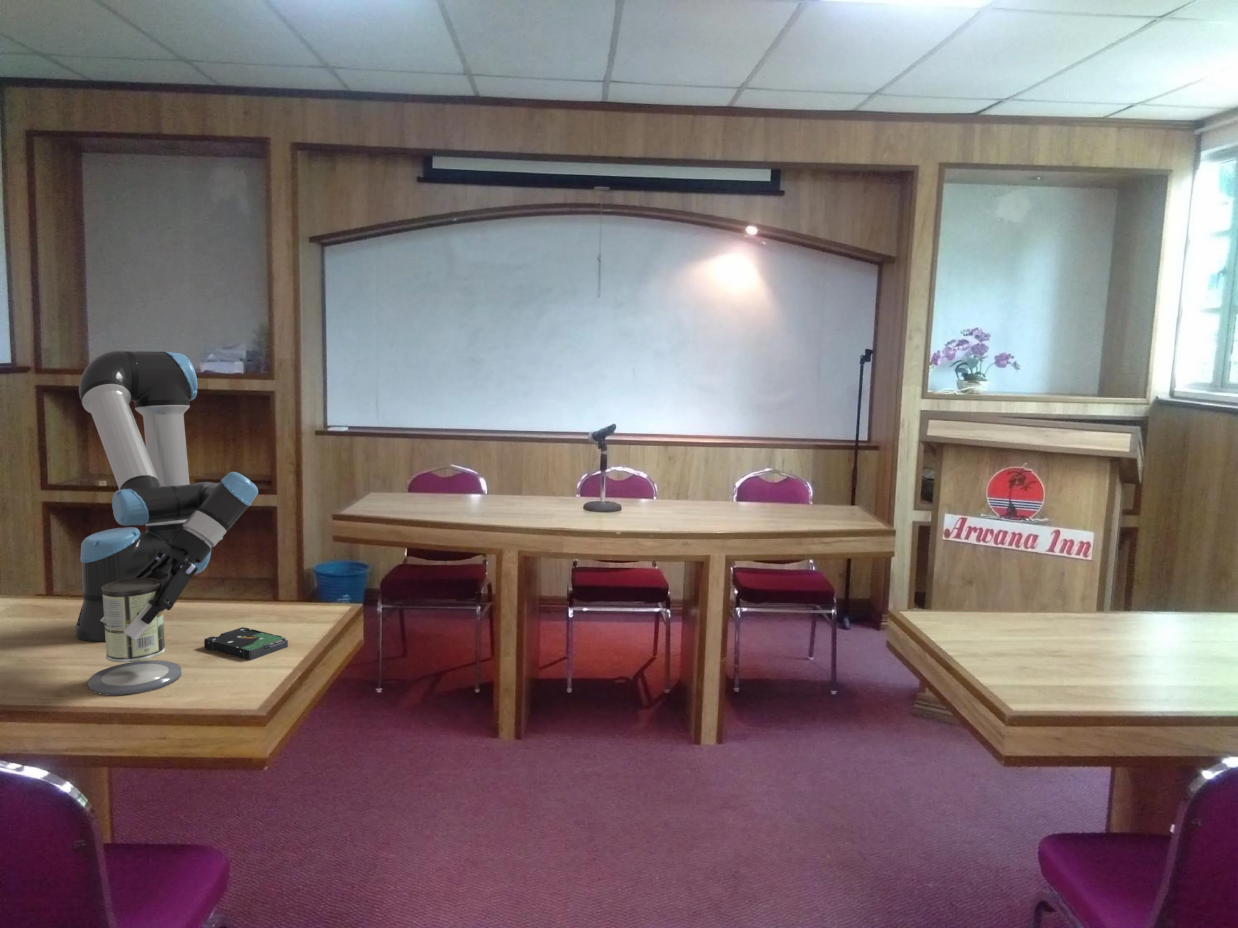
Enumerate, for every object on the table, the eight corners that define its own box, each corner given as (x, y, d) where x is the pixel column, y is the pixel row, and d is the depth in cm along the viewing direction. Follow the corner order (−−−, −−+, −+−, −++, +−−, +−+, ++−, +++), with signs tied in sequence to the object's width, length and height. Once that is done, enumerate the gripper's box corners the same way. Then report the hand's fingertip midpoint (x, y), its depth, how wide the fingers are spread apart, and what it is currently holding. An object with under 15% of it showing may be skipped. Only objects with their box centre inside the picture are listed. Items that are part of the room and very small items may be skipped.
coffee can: (134, 643, 173) (130, 575, 171) (177, 647, 171) (174, 579, 169) (92, 660, 163) (88, 588, 161) (137, 665, 161) (134, 592, 159)
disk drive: (203, 651, 186) (250, 662, 180) (202, 639, 186) (250, 649, 179) (242, 638, 196) (289, 648, 189) (242, 626, 195) (288, 636, 189)
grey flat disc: (67, 691, 161) (67, 685, 161) (128, 662, 177) (128, 657, 177) (144, 698, 159) (143, 692, 159) (198, 668, 175) (198, 663, 174)
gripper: (237, 557, 170) (158, 653, 159) (185, 541, 184) (109, 628, 173) (210, 534, 165) (127, 632, 154) (158, 520, 179) (79, 608, 168)
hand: (117, 630), depth 164 cm, fingers closed on coffee can, 10 cm apart
